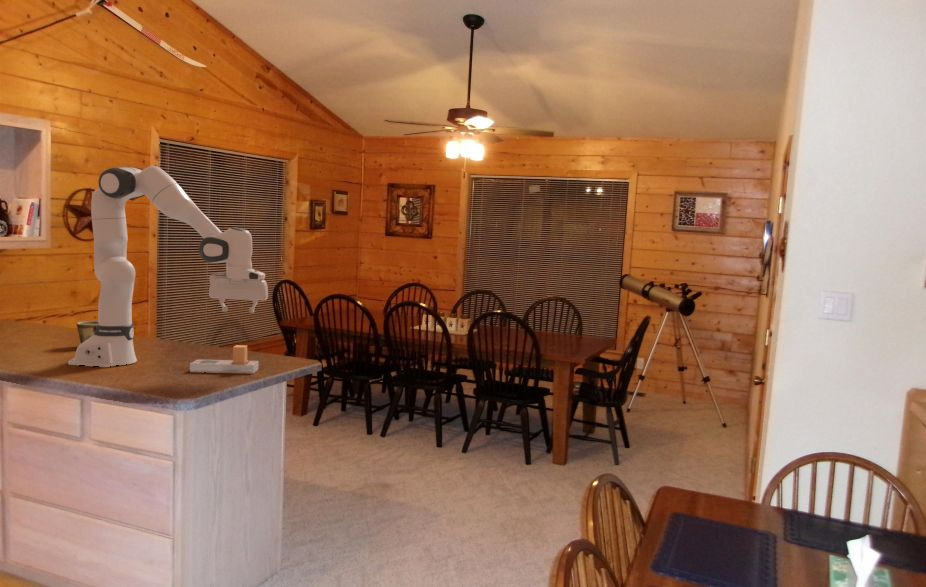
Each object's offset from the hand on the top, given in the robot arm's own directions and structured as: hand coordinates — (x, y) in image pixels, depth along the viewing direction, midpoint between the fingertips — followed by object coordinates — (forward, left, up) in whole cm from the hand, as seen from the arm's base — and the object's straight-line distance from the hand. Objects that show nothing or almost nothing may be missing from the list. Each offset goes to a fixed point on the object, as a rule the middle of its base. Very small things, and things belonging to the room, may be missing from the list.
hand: (238, 312), depth 256 cm
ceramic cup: (-68, +38, -21) cm, 81 cm away
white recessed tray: (-4, -1, -21) cm, 22 cm away
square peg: (+1, -1, -21) cm, 21 cm away
